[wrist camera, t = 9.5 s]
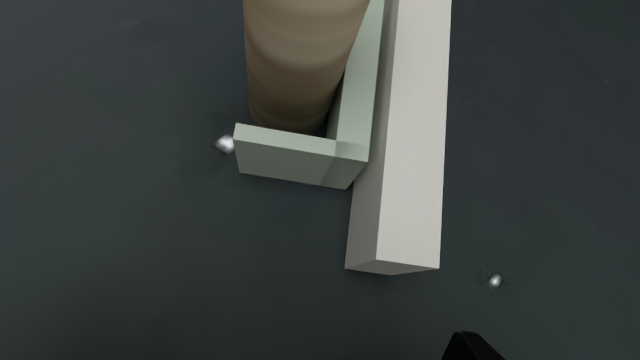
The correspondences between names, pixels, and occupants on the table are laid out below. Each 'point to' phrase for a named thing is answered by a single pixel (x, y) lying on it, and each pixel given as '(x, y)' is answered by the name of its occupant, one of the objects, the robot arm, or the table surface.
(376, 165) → the wall
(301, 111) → the dowel
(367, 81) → the bracket
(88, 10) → the table surface
